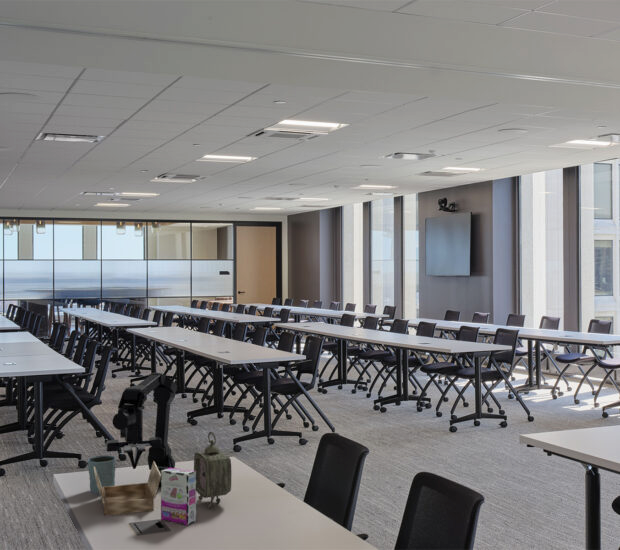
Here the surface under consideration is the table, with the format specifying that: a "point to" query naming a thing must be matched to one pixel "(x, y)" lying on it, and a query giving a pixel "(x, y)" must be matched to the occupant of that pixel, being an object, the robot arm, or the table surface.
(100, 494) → the flap
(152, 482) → the flap
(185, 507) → the candy bar box
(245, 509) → the table surface
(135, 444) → the robot arm
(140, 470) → the table surface
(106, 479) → the teal cup
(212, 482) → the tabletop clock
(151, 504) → the carton
